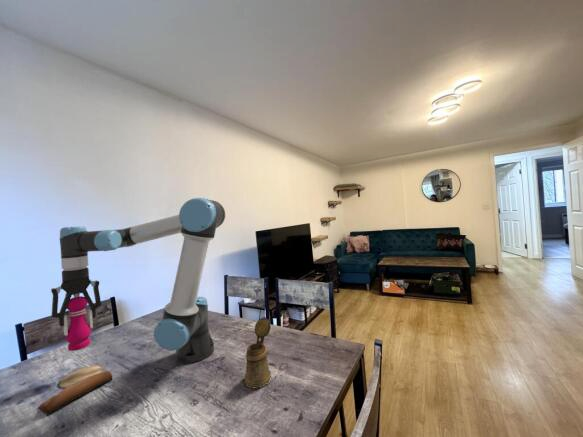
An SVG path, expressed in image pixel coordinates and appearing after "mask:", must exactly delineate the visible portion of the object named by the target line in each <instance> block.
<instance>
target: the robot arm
mask: <svg viewBox="0 0 583 437" xmlns="http://www.w3.org/2000/svg"><path fill="white" fill-rule="evenodd" d="M225 219H226V212H225V209H224V206H223V205H222V204H221V203H220V202H219V201H215V200H213V199H208V198H205V197H204V198H203V197H196V198H195V197H194V198H190V199H189V200H186V201H185V202H184V203H183V204H182V206H181V207H180V209H179V214H176V215H172V216H167V217H165V218H161V219H157V220H154V221H149V222H145V223H142V224H138V225H134V226H130V227H129V226H128V227H126V228H122V229H121V228H120V229H104V230H92V231H91V230H90V231H88V230H87V228H86V226H67V227H66V226H65V227H61V228H60V229H59V244H60V246H59V247H60V260H61V263H60V264H61V265H60V266H61V269H62V270H61V283H60V284H61V285H60V286H58V287H53V288H51V289H50V291H51V292H50V293H51V294H52V304H51V316H52V318H58V324H59V326H60V327H61V328H62V327H63V335H64V336H65V337H66V335H68V329H69V327H68V316H67V315H66V311H67V310H68V309H67V306H68V304H69V301H70V299H71V298H72V297H73V295H74V294H77V293H79V294H82V295H83V297H85V298H86V300H87V302H88V304H87V305H88V307H89V309H87V318H88V325H89V326H90V328H91V329H93V328H94V322H93V319H95V318H96V316H97V315H96V314H97V313H96V312H97V311H96V310H97V308H99V307H101V306H102V302H101V295H100V289H99V286H100V281H99V280H91V279H90V273H89V272H90V270H89V269H90V268H88V266H89V255H88V252H109V251H115V250H117V249H120V248H129V247H134V246H135V245H139V244H142V243H148V242H149V241H155V240H158V239H161V238H167V237H169V236H173V235H178V234H181V235H182V236H183V242H182V246H181V252H180V257H179V261H178V265H177V271H176V276H175V279H174V284H173V288H172V293H171V298H170V302H168V303H167V304H165V306H164V309H163V312H162V318H161V320H159V322H157V324H156V325H155V328H154V329H153V338H154V341H155V343H157V344H158V346H159V347H160V348H162V349H164V350H166V351H173V352H174V351H175V360H176V361H177V362H179V363H182V364H190V363H196V362H199V361H202V360H206V359H207V358H208V357H210V356H211V355H212V354H213V353H214V352H215V343H214V340H213V338H212V336H211V333H210V327H209V326H210V325H209V324H210V322H209V308H208V307H209V304H208V299H207V298H206V297H204V296H198V295H199V291H200V290H199V289H200V284H201V281H202V276H203V270H204V266H205V261H206V257H207V252H208V248H209V242H211V241H212V240H213V239H214V238H215V235H216V230H217V229H218V228H219V227H221V225H222V224H223V223H224V221H225ZM90 285H91V287H92V289H93V297H94V300H95V303H94V302H93V300H92V298H91V297H90V294H89V293H88V290H87V289H88V288H89V286H90ZM61 290H63V291H64V292H65V295H64V296H65V297H64V298H63V302H62V304H61V307H60V310H59V312H58V308H59V294H60V293H61Z"/></svg>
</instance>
